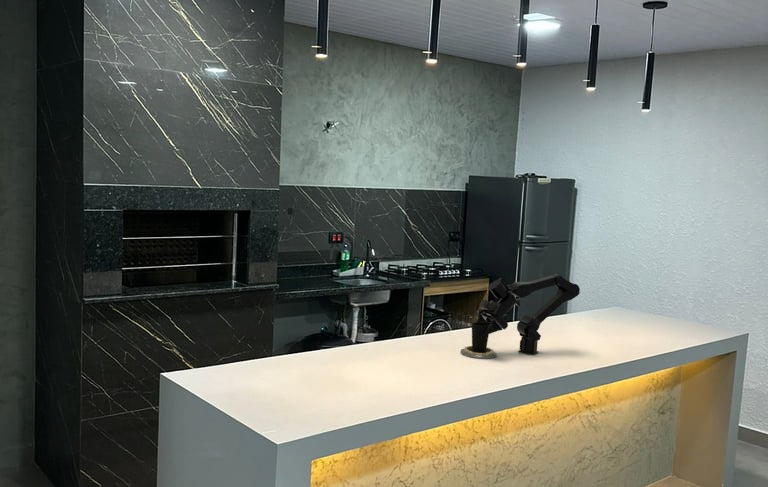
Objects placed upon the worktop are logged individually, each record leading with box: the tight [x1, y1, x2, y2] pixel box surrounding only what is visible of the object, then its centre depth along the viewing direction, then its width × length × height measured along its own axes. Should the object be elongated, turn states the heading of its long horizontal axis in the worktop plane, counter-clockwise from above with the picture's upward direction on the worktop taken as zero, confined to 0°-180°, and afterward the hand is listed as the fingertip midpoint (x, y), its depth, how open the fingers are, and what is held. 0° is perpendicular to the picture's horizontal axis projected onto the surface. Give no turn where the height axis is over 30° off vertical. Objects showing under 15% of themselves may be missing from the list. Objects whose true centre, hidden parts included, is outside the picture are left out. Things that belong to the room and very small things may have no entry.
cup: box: [471, 321, 490, 353], centre depth 287 cm, size 8×8×12 cm
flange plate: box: [460, 345, 497, 360], centre depth 287 cm, size 15×15×2 cm
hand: (478, 332), depth 286 cm, fingers open, 9 cm apart
